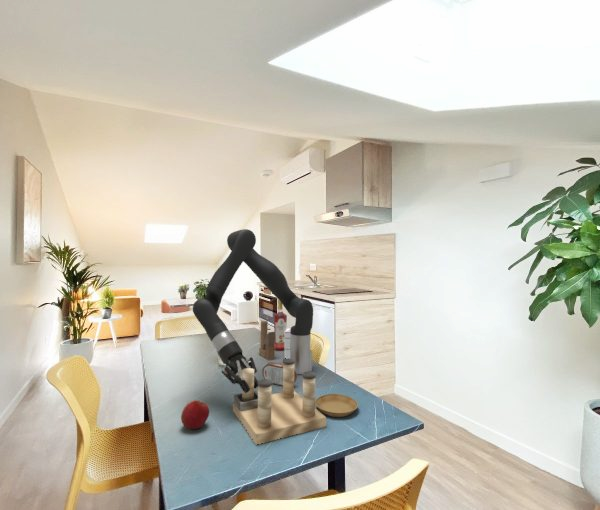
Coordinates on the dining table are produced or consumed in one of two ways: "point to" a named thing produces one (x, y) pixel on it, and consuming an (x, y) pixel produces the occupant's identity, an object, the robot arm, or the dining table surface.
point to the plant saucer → (336, 405)
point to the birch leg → (249, 378)
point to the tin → (275, 373)
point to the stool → (280, 408)
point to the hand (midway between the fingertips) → (252, 388)
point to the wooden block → (267, 342)
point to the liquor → (279, 327)
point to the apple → (195, 414)
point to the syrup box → (287, 343)
